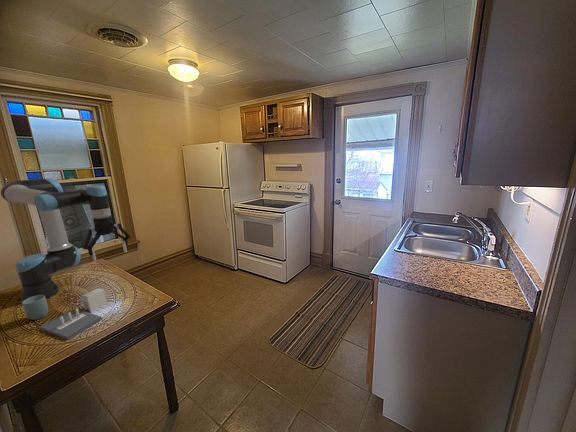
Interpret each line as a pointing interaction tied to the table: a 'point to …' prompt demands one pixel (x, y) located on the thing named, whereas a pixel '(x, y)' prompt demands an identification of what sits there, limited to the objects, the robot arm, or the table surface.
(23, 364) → the table surface
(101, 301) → the housing
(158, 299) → the table surface
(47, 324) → the board
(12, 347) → the table surface
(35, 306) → the cup
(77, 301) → the table surface
